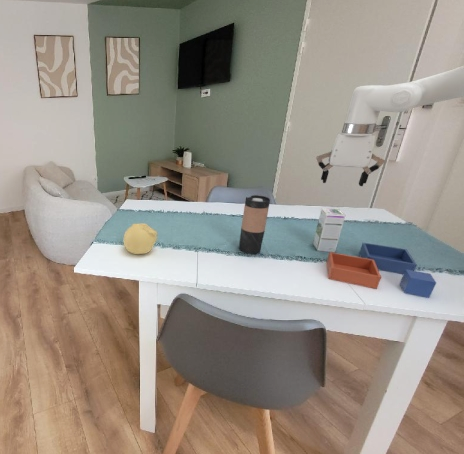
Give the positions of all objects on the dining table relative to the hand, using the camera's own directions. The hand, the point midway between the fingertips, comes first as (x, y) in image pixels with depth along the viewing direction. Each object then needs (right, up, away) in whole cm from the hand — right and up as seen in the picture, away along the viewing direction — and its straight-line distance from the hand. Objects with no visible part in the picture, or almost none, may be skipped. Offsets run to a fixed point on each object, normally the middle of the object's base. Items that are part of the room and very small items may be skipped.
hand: (341, 183), depth 96 cm
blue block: (+8, -32, -15) cm, 37 cm away
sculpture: (-65, -24, +15) cm, 71 cm away
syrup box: (+1, -22, +10) cm, 25 cm away
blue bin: (+13, -26, -1) cm, 29 cm away
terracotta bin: (-3, -29, -6) cm, 30 cm away
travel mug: (-25, -23, +12) cm, 36 cm away
